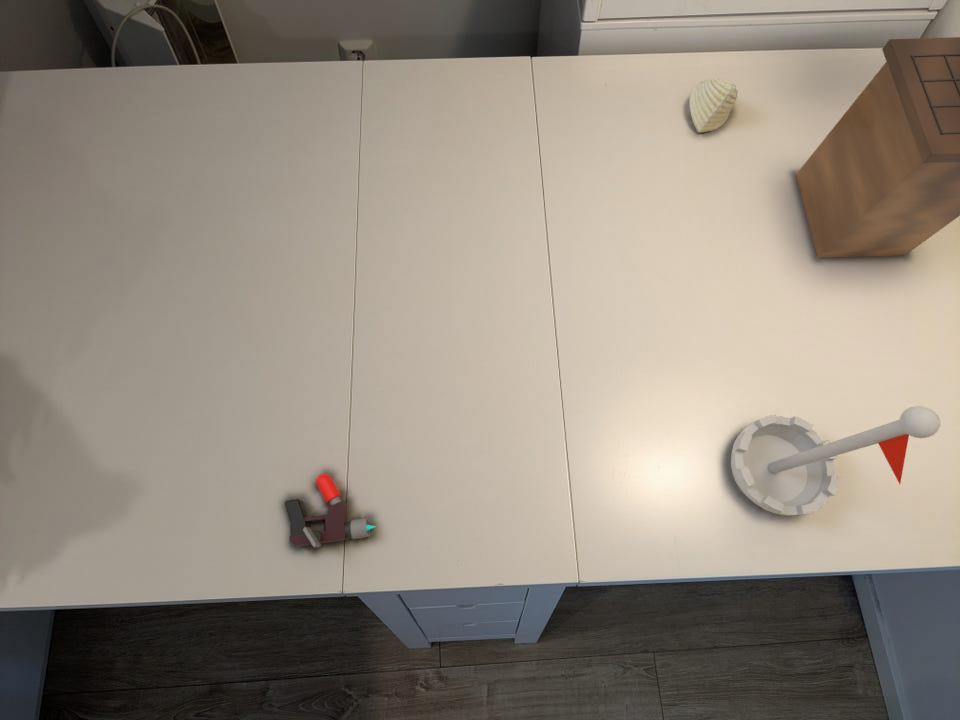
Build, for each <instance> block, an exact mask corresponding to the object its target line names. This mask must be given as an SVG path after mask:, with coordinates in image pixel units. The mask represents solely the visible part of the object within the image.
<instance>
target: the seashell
mask: <svg viewBox="0 0 960 720" xmlns="http://www.w3.org/2000/svg"><path fill="white" fill-rule="evenodd" d="M738 94H739V93H738V89H737V86H736V85H735V84H734V83H732V82H729V81H726V80H722V79H718V78H709V79H706V80H703V81H702V80H701V81H700V82H698V83H697V84H695V85H694V86H693V88H692V90H691V92H690V95H689V101H688V102H689V104H688V105H689V113H690V117H691V120H692V123H693V125H694V127H695V130H696V132H697V133H706V132H712V131H716V130H717V129H718V128H721V127H722V125H723V124H725V123H726V121H727V119H728V118H729V115H730V113H731V111H732V109H733V107H734V106H735V105H736V102H737V98H738Z"/></svg>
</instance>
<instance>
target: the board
mask: <svg viewBox="0 0 960 720" xmlns="http://www.w3.org/2000/svg"><path fill="white" fill-rule="evenodd" d="M881 50H882V53H883V56H884V59H885V61H886V62H885V63H884V64H883V65H882V66H881V68H880V69H879V70H878V71H877V73H876V74H875V75H874V76H873V78H872V79H871V80H870V82H869V83H868V84H867V85H866V86H865V88H863V90H862V91H861V92H860V94H859V95H858V96H857V98H856V99H855V100H854V102H853V103H852V104H851V105H850V106H849V108H848V109H846V111H845V112H844V114H843V115H842V116H841V118H840V119H839V120H838V121H837V122H836V124H835V125H834V126H833V128H831V130H830V131H829V133H828V134H827V135H826V136H825V137H824V139H823V140H822V141H821V143H820V144H819V145H818V146H817V147H816V149H815V150H814V151H813V153H812V154H811V155H810V156H809V158H808V159H807V160H806V162H805V163H803V165H802V166H801V168H799V170H798V171H797V172H796V174H795V176H796V181H797V184H798V188H799V192H800V195H801V199H802V204H803V207H804V211H805V215H806V219H807V222H808V226H809V230H810V234H811V238H812V242H813V245H814V249H815V253H816V257H817V258H820V259H821V258H846V257H847V258H848V257H849V258H850V257H853V258H854V257H855V258H856V257H882V256H883V257H888V256H906V255H908V254H909V253H911V252H912V251H913V250H915V249H917V247H919V246H920V245H922V244H923V243H924V242H926V241H927V240H929V239H930V238H931V237H932V236H934V235H936V234H937V233H938V232H940V231H941V230H942V229H943V228H945V227H946V226H948V225H949V224H950V223H952V222H953V221H955V220H956V219H958V218H959V217H960V36H955V37H954V36H951V37H949V36H947V37H922V38H921V37H920V38H918V37H917V38H890V39H889V40H888V41H886V43H885V45H884V46H883V47H882V49H881Z"/></svg>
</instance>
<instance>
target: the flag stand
mask: <svg viewBox="0 0 960 720" xmlns="http://www.w3.org/2000/svg"><path fill="white" fill-rule="evenodd" d="M813 427H814V424H813V423H811V422H810V421H807V420H806V419H803V418H800V417H799V416H793V417H785V416H777V414H772V415H767V416H764V417H762V418H759V419H757V420H755V421H753V422H751V423H750V424H748V425H747V426H746V427H744V428H743V429H742V430H741V432H739V434H738V435H737V437H736V439H735V440H734V442H733V446H732V450H731V456H730V467H731V468H730V469H731V474H732V477H733V479H734V481H735V483H736V485H737V487H738V488H739V489H740V491H741V492H742V493H743V495H745V496H746V497H747V498H748V499H749V500H750V501H751V502H752V503H754V504H755V505H757V506H758V507H760V508H761V509H763V510H765V511H768V512H769V513H772V514H775V515H781V516H801V515H806V514H811V513H814V512H817V511H819V510H821V509H822V506H823V505H824V504H825V503H826V501H828V499H829V498H830V497H834V496H836V494H837V492H838V489H839V487H840V482H841V477H840V476H836V467H835V461H834V460H836V459H839V456H840V455H844V454H846V453H850V452H853V451H857V450H860V449H864V448H867V447H870V446H875V445H877V444H878V446H879V448H880V450H881V452H882V454H883V455H884V457H885V459H886V461H887V463H888V465H889V467H890V469H891V471H892V473H893V475H894V476H895V479H896V480H897V482H898V484H899V485H901V482H902V476H903V471H904V465H905V460H906V455H907V448H908V444H909V443H908V442H909V438H910V437H913V438H914V439H915V438H916V439H927V438H930V437H932V436H934V435H935V434H937V433H938V432H939V430H940V428H941V419H940V417H939V414H937V413H936V412H935V411H934V410H933V409H932V408H929V407H928V406H923V405H915V406H911V407H908V408H906V409H905V410H903V412H902V413H901V414H900V416H899V419H897V420H894V421H891V422H888V423H884V424H882V425H878V426H876V427H873V428H870V429H867V430H864V431H861V432H858V433H855V434H853V435H850V436H846V437H844V438H840V439H838V440H833V441H831V440H830V439H825V440H824V439H822V437H821V436H820V435H819V434H818V433H817V432H816V431H815V430H813Z"/></svg>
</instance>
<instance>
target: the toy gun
mask: <svg viewBox="0 0 960 720" xmlns="http://www.w3.org/2000/svg"><path fill="white" fill-rule="evenodd" d="M315 485H316V486H317V489H318V490H319V492H320V493H321V495H322V497H323V499H324V500H325V502H326V504H329V505H328V506H327V514H321V515H316V516H315V515H314V516H309V517H308V514H307V511H306V507H305V504H304V502H303V500H302V499H299V498H294V499H287V500H285V501H284V507H285V510H286V513H287V516H288V520H289V523H290V524H289V525H290V535H289V542H290V543H291V544H292V545H293V546H294V547H306V546H312V548H317V549H318V548H320V547H321V546H322V544H326V543H335V542H343V541H348V540H350V539H352V540H357V539H363V538H369V537H370V536H371V530H372V529H375V528H376V527H377V526H376V525H371V524H370V519H369V518H368V517H364V518H358V519H352V520H351V521H348V520H349V518H348V517H349V516H348V502H347V501H345V500H342V499H341V493H340V491H339V489H338V487H337V486H336V484H335V483H334V481H333V479H332V477H331V476H330V474H327V473H321V474H319V476H317V477H316V479H315ZM321 521H324V522H325V530H323V531H317V530H316V531H313V529H312V528H311V523H314V522H321Z"/></svg>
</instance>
